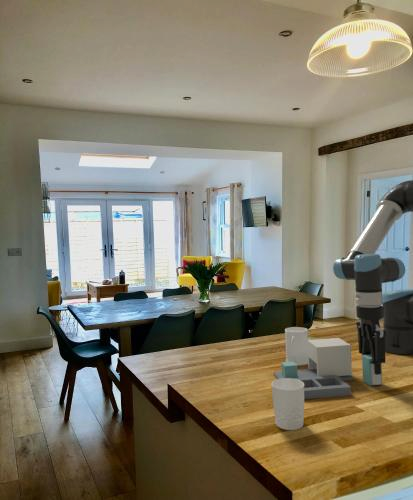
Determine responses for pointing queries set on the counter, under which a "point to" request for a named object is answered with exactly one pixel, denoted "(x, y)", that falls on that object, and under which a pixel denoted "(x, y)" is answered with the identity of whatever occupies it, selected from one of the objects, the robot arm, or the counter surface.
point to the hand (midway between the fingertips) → (372, 381)
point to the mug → (296, 345)
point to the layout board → (300, 372)
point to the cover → (329, 357)
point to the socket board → (324, 387)
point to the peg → (368, 369)
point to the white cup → (288, 403)
